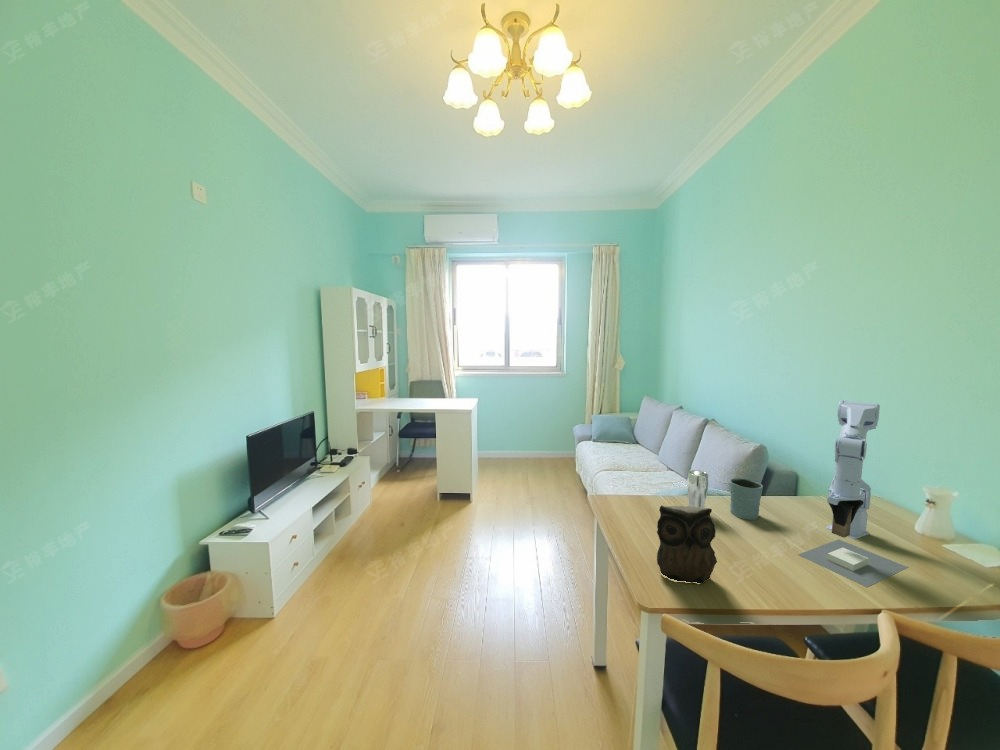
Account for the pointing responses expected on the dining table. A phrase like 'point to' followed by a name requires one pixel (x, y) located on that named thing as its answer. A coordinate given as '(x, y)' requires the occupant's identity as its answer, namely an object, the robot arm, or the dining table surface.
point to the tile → (848, 559)
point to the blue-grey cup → (745, 498)
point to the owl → (686, 543)
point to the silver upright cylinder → (697, 488)
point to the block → (842, 527)
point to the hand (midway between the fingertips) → (843, 523)
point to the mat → (865, 576)
